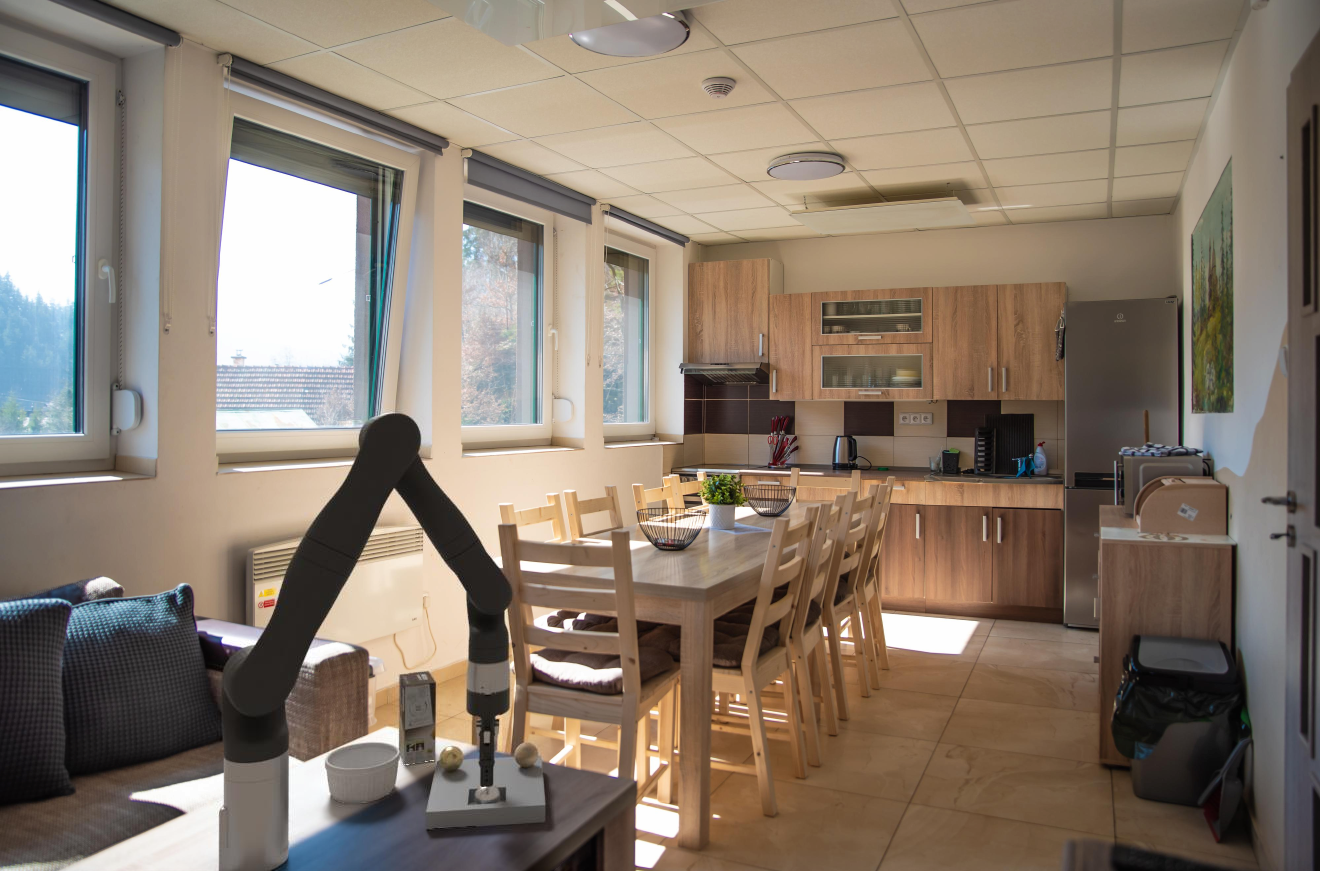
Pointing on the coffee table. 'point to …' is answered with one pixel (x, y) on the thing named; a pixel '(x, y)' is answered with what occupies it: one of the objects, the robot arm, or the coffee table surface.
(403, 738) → the coffee box
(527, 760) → the oak ball
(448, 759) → the brass ball
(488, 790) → the steel ball
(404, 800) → the coffee table surface
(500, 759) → the board
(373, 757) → the ramekin
